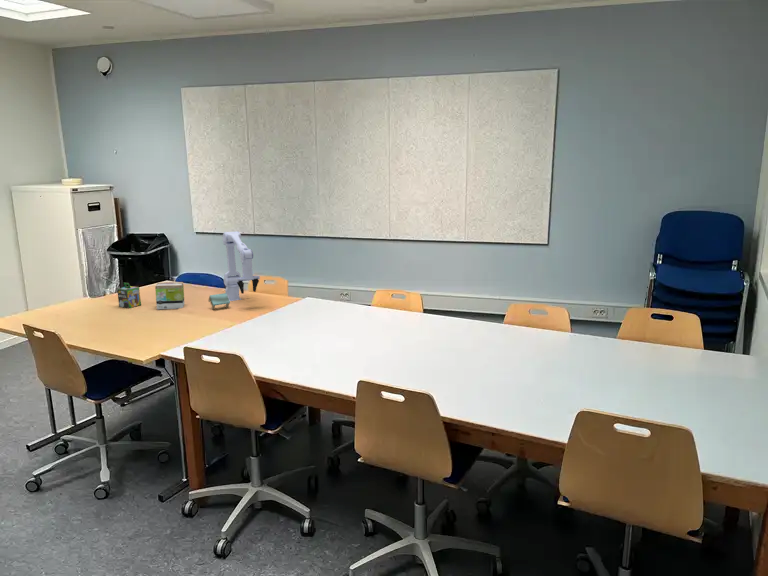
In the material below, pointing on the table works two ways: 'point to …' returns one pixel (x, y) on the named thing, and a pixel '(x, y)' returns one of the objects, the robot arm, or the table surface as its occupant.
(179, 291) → the tea box
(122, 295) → the chalk box
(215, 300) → the footstool
